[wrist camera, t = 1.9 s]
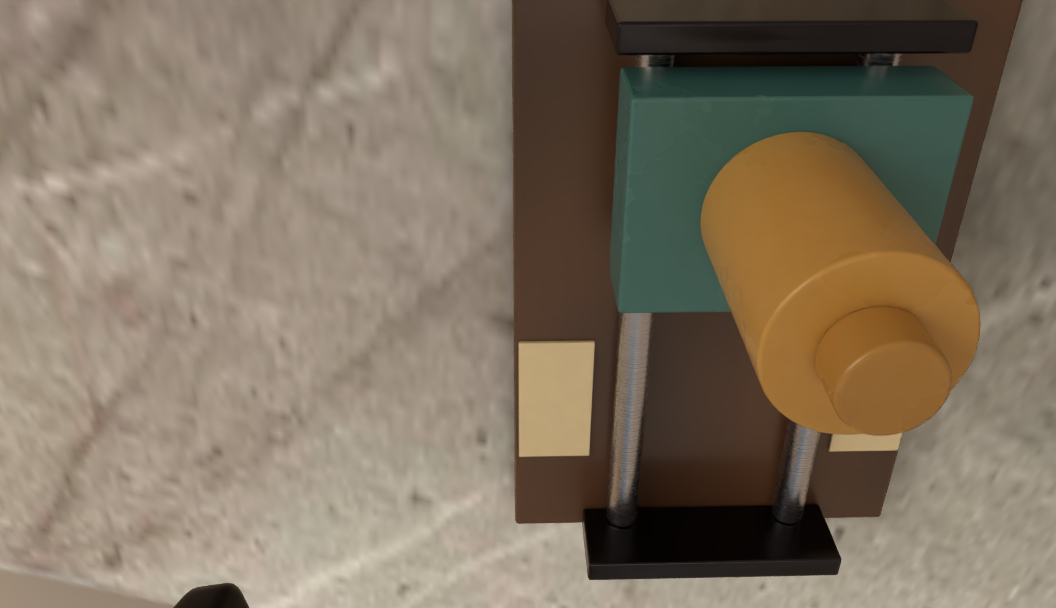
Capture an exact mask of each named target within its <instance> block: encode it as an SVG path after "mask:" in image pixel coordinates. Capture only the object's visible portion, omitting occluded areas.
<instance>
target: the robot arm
mask: <svg viewBox="0 0 1056 608" xmlns="http://www.w3.org/2000/svg"><path fill="white" fill-rule="evenodd" d="M174 608H249V606H248V604H247V602H246V600H245V598H244V596H243V594H242V592H241V591H240V589H239V588H238V587H237V586H236V585H234V584H232V583H223V584H216V585H209V586H202V587H197V588H194V589H192V590H190V591H189V592H188V593H187V594H186V595H185V596H183V598H182V599H181V600H180V601H179V602H178V603H177V604H176V605H175V606H174Z"/></svg>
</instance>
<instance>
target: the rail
mask: <svg viewBox="0 0 1056 608" xmlns="http://www.w3.org/2000/svg"><path fill="white" fill-rule="evenodd" d="M1022 1H1023V0H512V94H513V262H514V431H515V520H516V522H517V523H519V524H522V523H575V522H582V527H583V537H584V546H585V555H586V565H587V574H588V578H589V579H590V580H611V579H661V578H710V577H760V576H809V575H837V574H838V571H839V568H840V564H841V557H840V555H839V552H838V550H837V547H836V545H835V543H834V540H833V538H832V535H831V533H830V531H829V528H828V526H827V523H826V521H825V518H845V517H879V516H880V514H881V511H882V507H883V503H884V500H885V496H886V493H887V489H888V485H889V482H890V478H891V475H892V471H893V467H894V464H895V460H896V456H897V453H898V449H899V446H900V442H901V438H902V435H903V433H899V434H894V435H887V436H874V435H868V434H853V435H841V434H830V433H823V432H819V431H815V430H811V429H809V428H806V427H804V426H801V425H799V424H797V423H795V422H794V421H792V420H790V419H788V418H787V417H786V416H784V415H783V414H782V413H781V412H779V411H778V410H777V409H776V408H775V407H774V406H773V405H772V403H771V402H770V401H769V399H768V398H767V396H766V395H765V393H764V391H763V389H762V387H761V384H760V382H759V380H758V377H757V375H756V372H755V370H754V367H753V365H752V362H751V360H750V357H749V355H748V352H747V350H746V347H745V345H744V342H743V340H742V337H741V335H740V332H739V330H738V327H737V325H736V322H735V320H734V318H733V315H732V313H731V312H673V313H620V312H619V311H618V308H617V303H616V298H615V294H614V289H613V284H612V279H611V274H610V270H609V263H610V245H611V227H612V209H613V191H614V173H615V156H616V138H617V120H618V102H619V84H620V71H621V69H622V68H624V67H759V66H929V65H933V66H935V67H936V68H938V69H939V70H940V71H942V72H943V73H944V74H946V75H947V76H948V77H950V78H951V79H952V80H953V81H955V82H956V83H957V84H959V85H960V86H961V87H963V88H964V89H965V90H966V91H968V92H969V93H970V94H972V95H973V97H974V101H973V105H972V109H971V113H970V116H969V120H968V124H967V128H966V131H965V135H964V139H963V143H962V147H961V150H960V154H959V158H958V162H957V166H956V169H955V173H954V177H953V181H952V184H951V188H950V192H949V196H948V200H947V203H946V207H945V211H944V215H943V219H942V222H941V226H940V230H939V234H938V237H937V241H936V246H937V247H938V249H939V250H940V251H941V252H942V253H943V255H944V256H945V257H946V258H947V259H948V260H949V262H950V261H951V258H952V254H953V250H954V247H955V243H956V239H957V236H958V232H959V229H960V225H961V221H962V218H963V214H964V211H965V207H966V203H967V200H968V196H969V192H970V189H971V185H972V182H973V178H974V174H975V171H976V167H977V163H978V160H979V156H980V153H981V149H982V145H983V142H984V138H985V135H986V131H987V127H988V124H989V120H990V116H991V113H992V109H993V106H994V102H995V98H996V95H997V91H998V88H999V84H1000V80H1001V77H1002V73H1003V69H1004V66H1005V62H1006V59H1007V55H1008V51H1009V48H1010V44H1011V41H1012V37H1013V33H1014V30H1015V26H1016V22H1017V19H1018V15H1019V12H1020V8H1021V4H1022Z"/></svg>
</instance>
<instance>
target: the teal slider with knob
mask: <svg viewBox="0 0 1056 608" xmlns="http://www.w3.org/2000/svg"><path fill="white" fill-rule="evenodd" d="M973 101H974V97H973V95H972V94H970V93H969V92H968V91H966V90H965V89H964V88H963V87H961V86H960V85H959V84H957V83H956V82H955V81H953V80H952V79H951V78H950V77H948V76H947V75H946V74H944V73H943V72H942V71H940V70H939V69H938V68H936V67H935V66H933V65H929V66H759V67H624V68H622V69H621V71H620V84H619V102H618V120H617V138H616V156H615V173H614V191H613V209H612V227H611V245H610V263H609V270H610V274H611V279H612V284H613V289H614V294H615V298H616V303H617V308H618V311H619V312H620V313H673V312H731V313H732V315H733V318H734V320H735V322H736V325H737V327H738V330H739V332H740V335H741V337H742V340H743V342H744V345H745V347H746V350H747V352H748V355H749V357H750V360H751V362H752V365H753V367H754V370H755V372H756V375H757V377H758V380H759V382H760V384H761V387H762V389H763V391H764V393H765V395H766V396H767V398H768V399H769V401H770V402H771V403H772V405H773V406H774V407H775V408H776V409H777V410H778V411H779V412H781V413H782V414H783V415H784V416H786V417H787V418H788V419H790V420H792V421H794V422H795V423H797V424H799V425H801V426H804V427H806V428H809V429H811V430H815V431H819V432H823V433H830V434H841V435H853V434H868V435H874V436H887V435H894V434H899V433H903V432H906V431H909V430H911V429H913V428H915V427H918V426H919V425H921V424H923V423H924V422H926V421H927V420H928V419H930V418H931V417H932V416H933V415H934V414H936V413H937V411H938V410H939V409H940V408H941V407H942V405H943V404H944V403H945V401H946V399H947V397H948V395H949V392H950V391H951V389H952V388H953V387H954V386H955V385H956V384H957V383H958V382H959V380H960V379H961V377H962V376H963V375H964V373H965V372H966V370H967V368H968V367H969V365H970V363H971V361H972V359H973V356H974V354H975V351H976V349H977V345H978V341H979V336H980V313H979V308H978V304H977V300H976V298H975V296H974V293H973V291H972V289H971V288H970V286H969V285H968V283H967V282H966V281H965V279H964V278H963V277H962V276H961V275H960V273H959V272H958V271H957V270H956V269H955V267H954V266H953V265H952V264H951V263H950V262H949V260H948V259H947V258H946V257H945V256H944V255H943V253H942V252H941V251H940V250H939V249H938V247H937V246H936V241H937V237H938V234H939V230H940V226H941V222H942V219H943V215H944V211H945V207H946V203H947V200H948V196H949V192H950V188H951V184H952V181H953V177H954V173H955V169H956V166H957V162H958V158H959V154H960V150H961V147H962V143H963V139H964V135H965V131H966V128H967V124H968V120H969V116H970V113H971V109H972V105H973Z"/></svg>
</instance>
